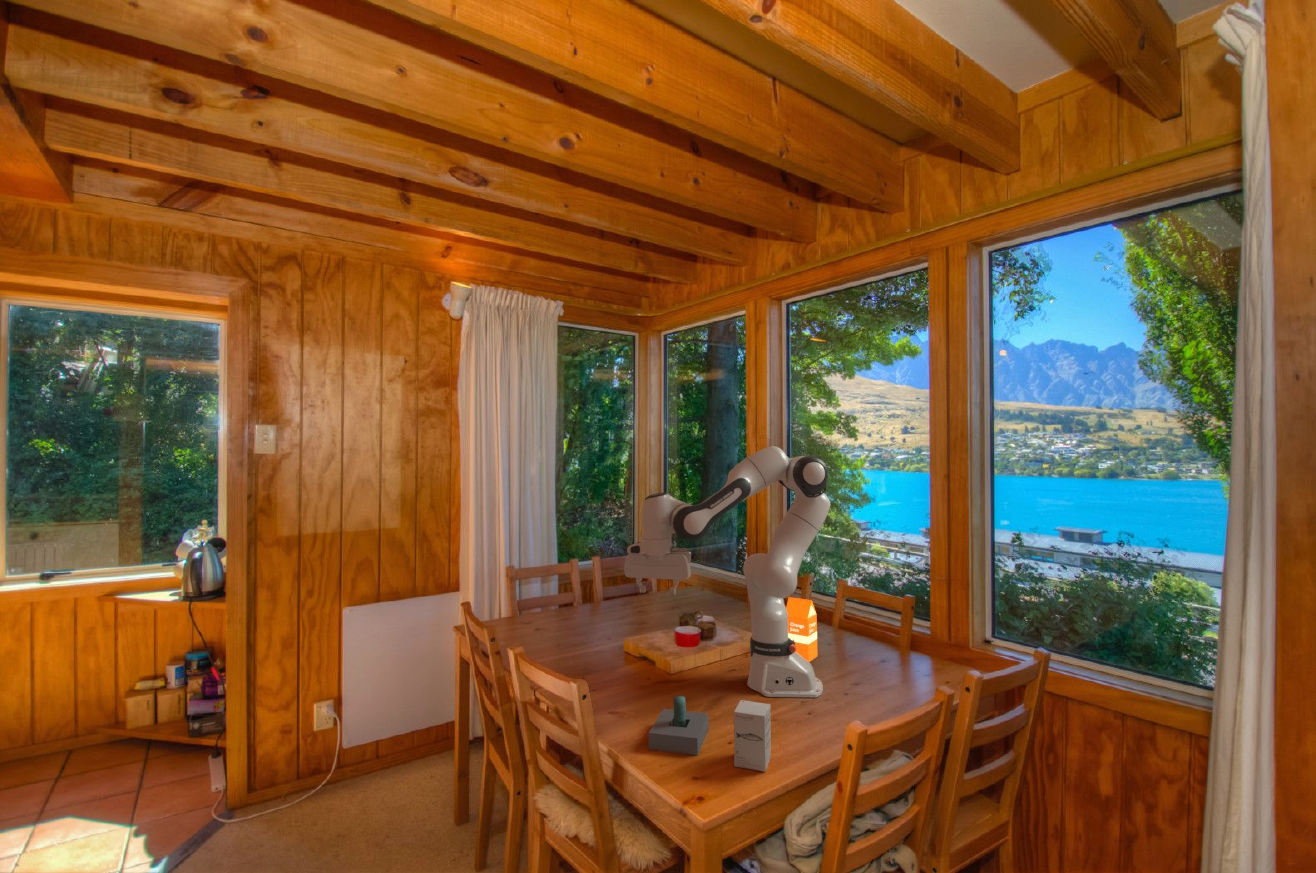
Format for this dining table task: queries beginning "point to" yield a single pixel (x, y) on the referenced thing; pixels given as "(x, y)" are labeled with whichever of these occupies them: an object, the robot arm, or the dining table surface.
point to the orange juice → (803, 627)
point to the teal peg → (679, 711)
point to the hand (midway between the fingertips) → (657, 593)
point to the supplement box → (752, 735)
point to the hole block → (679, 733)
